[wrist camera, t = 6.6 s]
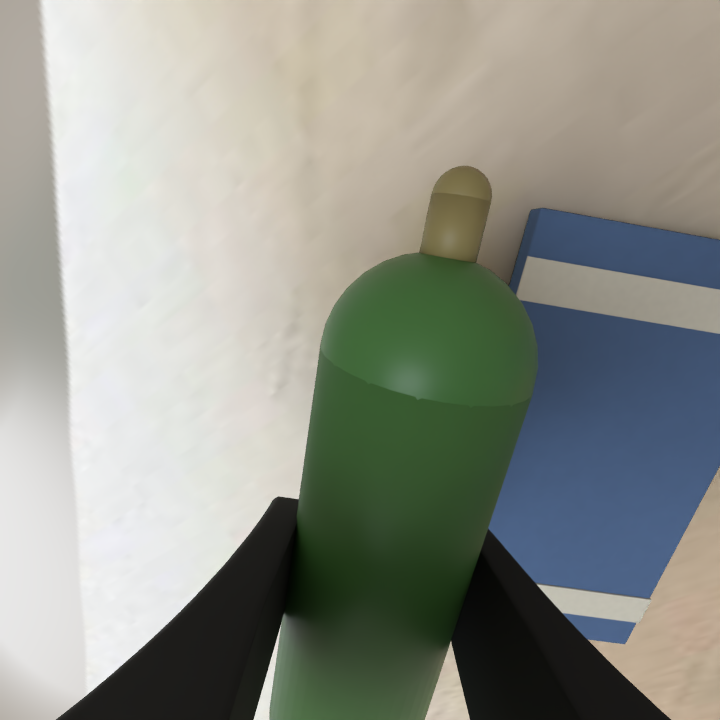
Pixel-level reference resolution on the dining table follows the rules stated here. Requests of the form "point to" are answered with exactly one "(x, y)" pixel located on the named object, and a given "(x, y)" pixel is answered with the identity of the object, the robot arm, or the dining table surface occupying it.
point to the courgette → (402, 468)
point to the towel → (612, 412)
